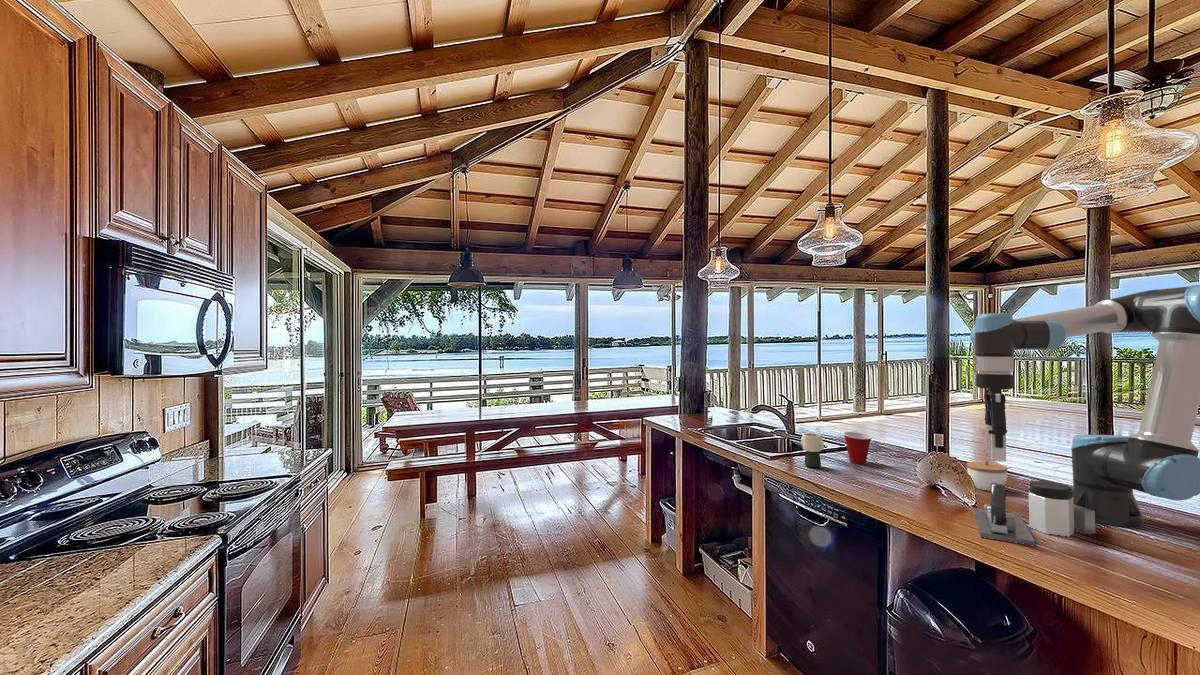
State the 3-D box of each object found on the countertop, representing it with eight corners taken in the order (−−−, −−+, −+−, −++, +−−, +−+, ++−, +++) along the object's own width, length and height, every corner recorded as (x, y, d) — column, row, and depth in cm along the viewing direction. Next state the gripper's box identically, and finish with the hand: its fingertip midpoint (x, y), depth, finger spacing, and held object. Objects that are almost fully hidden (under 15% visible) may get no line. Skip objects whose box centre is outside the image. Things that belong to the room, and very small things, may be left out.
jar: (1084, 536, 121) (1083, 489, 121) (1054, 538, 121) (1052, 490, 121) (1049, 523, 130) (1048, 479, 130) (1021, 524, 130) (1019, 480, 130)
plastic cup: (868, 467, 189) (867, 437, 189) (839, 463, 197) (839, 434, 197) (877, 462, 196) (876, 433, 196) (849, 458, 204) (849, 430, 204)
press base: (1019, 518, 134) (1019, 514, 134) (1035, 546, 116) (1035, 541, 116) (972, 511, 140) (972, 507, 140) (980, 537, 122) (980, 532, 122)
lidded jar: (962, 488, 162) (962, 460, 162) (972, 481, 168) (972, 455, 168) (1003, 495, 153) (1002, 466, 153) (1011, 488, 160) (1011, 461, 160)
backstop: (1061, 522, 131) (1060, 500, 131) (1095, 533, 123) (1094, 510, 123) (1052, 523, 130) (1051, 501, 130) (1085, 534, 122) (1084, 511, 122)
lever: (983, 510, 137) (982, 468, 137) (1007, 513, 134) (1005, 471, 134) (991, 532, 122) (990, 485, 122) (1018, 536, 119) (1016, 488, 119)
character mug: (830, 468, 189) (829, 436, 189) (817, 471, 186) (816, 437, 186) (808, 462, 199) (807, 431, 199) (795, 464, 196) (794, 433, 196)
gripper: (972, 369, 135) (973, 444, 135) (980, 375, 115) (981, 463, 114) (1006, 370, 131) (1007, 447, 131) (1021, 376, 110) (1022, 467, 110)
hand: (995, 455), depth 123 cm, fingers open, 13 cm apart
